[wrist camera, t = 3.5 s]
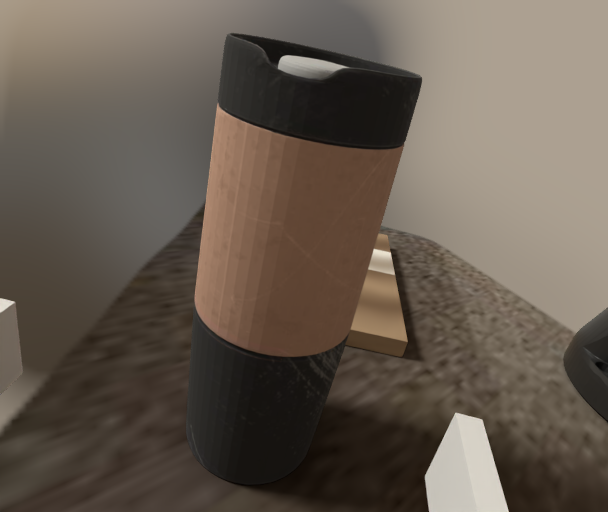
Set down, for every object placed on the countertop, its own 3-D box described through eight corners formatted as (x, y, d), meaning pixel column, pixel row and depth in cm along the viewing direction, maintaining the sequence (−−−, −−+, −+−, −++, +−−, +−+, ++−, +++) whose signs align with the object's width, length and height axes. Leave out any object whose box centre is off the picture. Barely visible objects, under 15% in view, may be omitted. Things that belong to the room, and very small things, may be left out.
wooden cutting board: (282, 224, 52) (284, 212, 52) (383, 247, 53) (387, 235, 52) (248, 323, 35) (251, 307, 34) (402, 357, 35) (407, 341, 34)
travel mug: (277, 370, 31) (349, 53, 22) (340, 462, 25) (470, 88, 16) (163, 398, 27) (193, 23, 18) (208, 514, 21) (285, 55, 12)
